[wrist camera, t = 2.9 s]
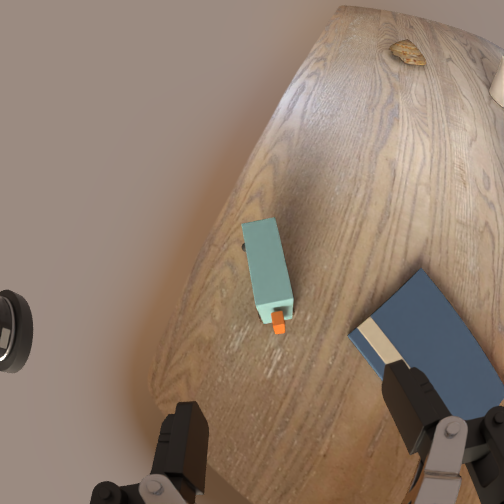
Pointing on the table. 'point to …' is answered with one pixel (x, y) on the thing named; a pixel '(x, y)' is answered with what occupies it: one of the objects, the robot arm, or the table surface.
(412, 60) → the seashell
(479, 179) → the table surface
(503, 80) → the mug
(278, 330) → the sage wedge block
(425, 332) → the striped blue notebook
